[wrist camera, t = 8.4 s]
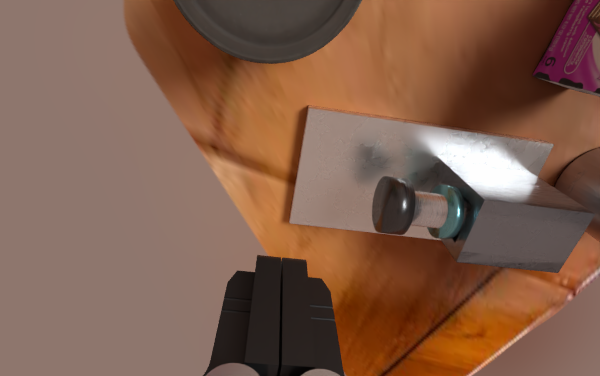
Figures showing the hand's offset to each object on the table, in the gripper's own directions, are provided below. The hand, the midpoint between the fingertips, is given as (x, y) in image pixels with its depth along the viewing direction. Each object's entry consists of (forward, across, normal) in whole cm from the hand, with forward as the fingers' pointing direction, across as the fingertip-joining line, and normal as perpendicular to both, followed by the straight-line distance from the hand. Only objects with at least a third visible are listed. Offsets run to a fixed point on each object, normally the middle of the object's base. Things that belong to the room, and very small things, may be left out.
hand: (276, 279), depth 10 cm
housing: (+25, -15, +6) cm, 30 cm away
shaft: (+21, -19, +6) cm, 29 cm away
